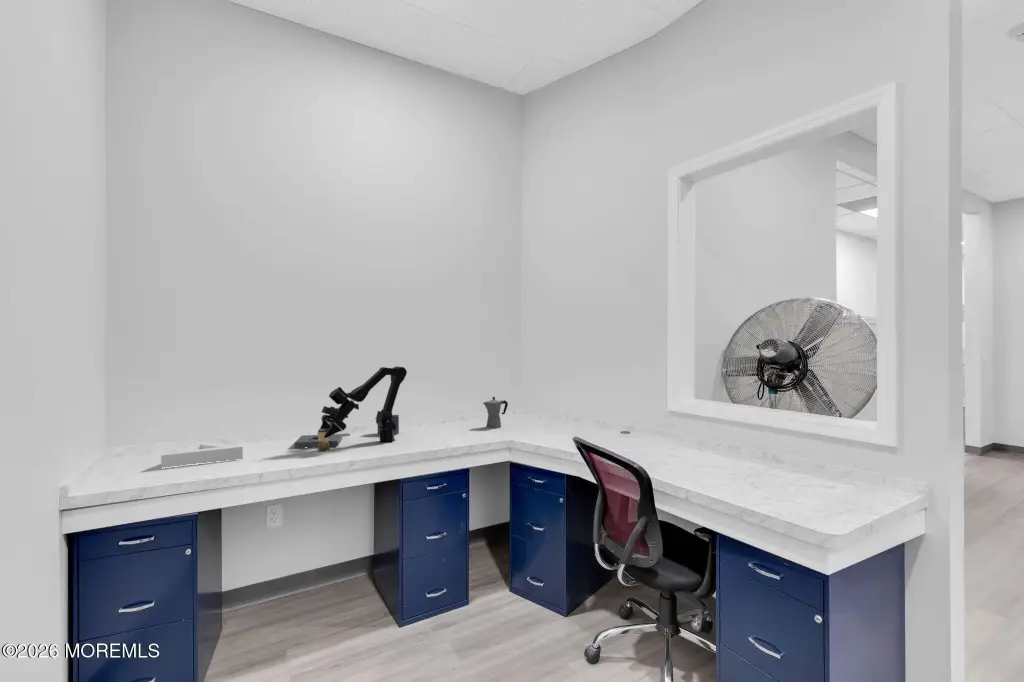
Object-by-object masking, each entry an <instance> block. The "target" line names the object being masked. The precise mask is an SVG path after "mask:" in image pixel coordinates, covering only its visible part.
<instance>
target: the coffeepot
mask: <svg viewBox="0 0 1024 682" xmlns="http://www.w3.org/2000/svg"><path fill="white" fill-rule="evenodd" d="M482 405H484V406H485V409H486V410H487V411H486V412H487V415H488V416H487V422H486V428H487V427H488V428H487V429H501V428H502V422H501V418H500V412H501V406H502V405H504V408H503V412H501V415H505V414H506V411H507V409H508V405H509V403H508V401H506V400H498V399H497V400H496V397H495V396H492V399H491V400H488V401H484V402H482ZM500 427H501V428H500Z"/></svg>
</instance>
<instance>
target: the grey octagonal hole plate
mask: <svg viewBox="0 0 1024 682" xmlns="http://www.w3.org/2000/svg"><path fill="white" fill-rule="evenodd" d="M341 440H342V441H343V433H335V434H333V435H331V436H329V448H337V447H336V446H338V445H340V444H341V443H342V441H341ZM340 442H341V443H340ZM339 443H340V444H339ZM305 447H318V434H311V435H310V434H309V435H307V434H306V435H301V436H300V437H298V438H297V440H296V441H294V449H295V448H299V449H306V448H305ZM338 447H339V446H338Z"/></svg>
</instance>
